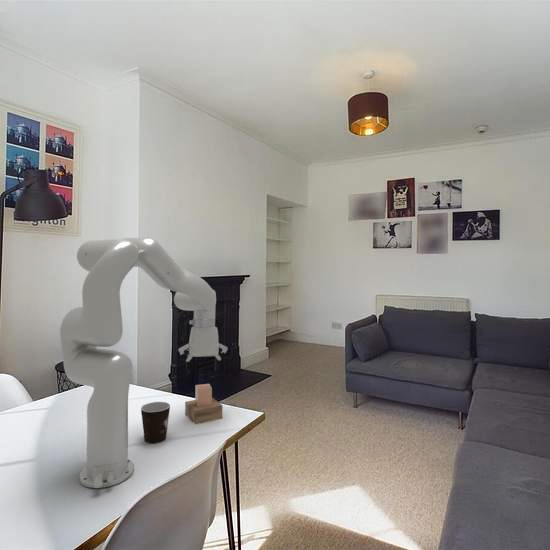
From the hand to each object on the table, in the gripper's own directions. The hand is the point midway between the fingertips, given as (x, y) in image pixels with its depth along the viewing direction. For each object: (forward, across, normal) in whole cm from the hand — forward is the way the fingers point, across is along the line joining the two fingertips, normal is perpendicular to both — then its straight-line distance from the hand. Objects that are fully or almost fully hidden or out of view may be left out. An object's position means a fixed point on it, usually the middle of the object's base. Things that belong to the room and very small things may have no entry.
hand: (202, 371), depth 131 cm
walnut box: (+17, +1, +1) cm, 17 cm away
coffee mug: (+17, -17, -13) cm, 28 cm away
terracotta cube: (+12, +1, +1) cm, 12 cm away
